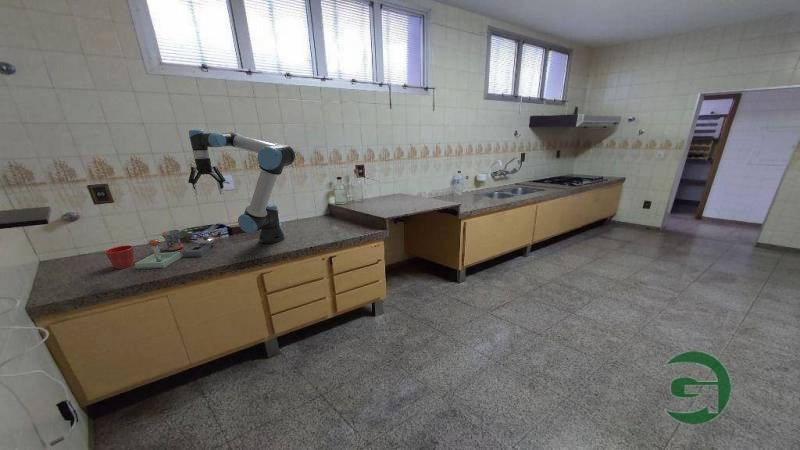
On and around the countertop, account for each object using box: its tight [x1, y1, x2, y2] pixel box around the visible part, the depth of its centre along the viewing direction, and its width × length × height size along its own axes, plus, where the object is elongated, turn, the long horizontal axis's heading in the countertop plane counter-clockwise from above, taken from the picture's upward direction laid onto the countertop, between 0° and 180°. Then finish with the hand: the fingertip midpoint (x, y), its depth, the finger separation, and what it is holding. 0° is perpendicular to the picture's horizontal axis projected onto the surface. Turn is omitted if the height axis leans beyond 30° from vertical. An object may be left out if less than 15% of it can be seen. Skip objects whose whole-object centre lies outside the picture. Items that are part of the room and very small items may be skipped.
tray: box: [134, 251, 183, 270], centre depth 161 cm, size 14×14×3 cm
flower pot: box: [104, 244, 135, 270], centre depth 157 cm, size 11×11×10 cm
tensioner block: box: [181, 235, 216, 258], centre depth 177 cm, size 10×20×7 cm, turn 3°
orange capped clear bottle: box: [148, 238, 163, 262], centre depth 159 cm, size 4×4×12 cm
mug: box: [160, 229, 184, 251], centre depth 181 cm, size 12×9×11 cm
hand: (210, 194), depth 177 cm, fingers open, 13 cm apart
